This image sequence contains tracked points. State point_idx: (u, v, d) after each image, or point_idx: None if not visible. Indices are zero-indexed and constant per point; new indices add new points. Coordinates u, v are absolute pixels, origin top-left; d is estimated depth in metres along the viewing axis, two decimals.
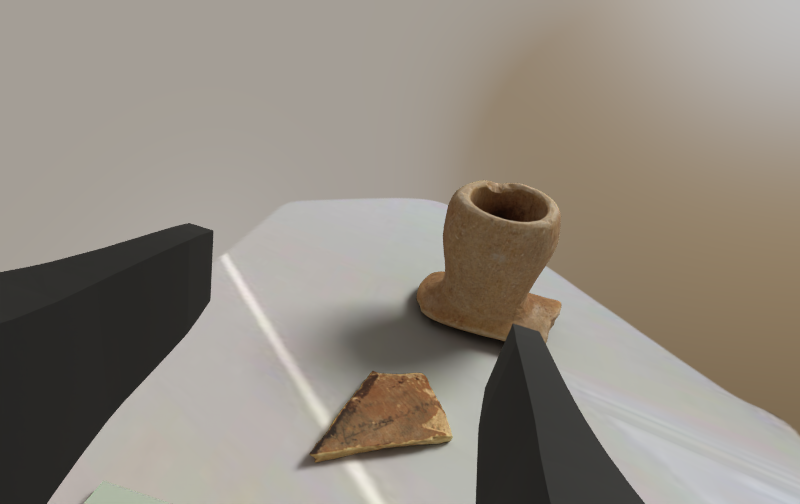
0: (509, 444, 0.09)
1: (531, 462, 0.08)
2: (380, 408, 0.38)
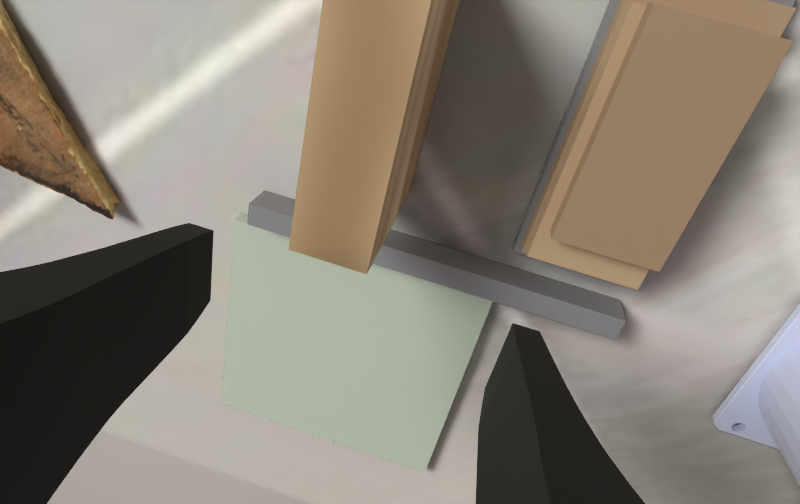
0: (508, 444, 0.09)
1: (531, 462, 0.08)
2: None
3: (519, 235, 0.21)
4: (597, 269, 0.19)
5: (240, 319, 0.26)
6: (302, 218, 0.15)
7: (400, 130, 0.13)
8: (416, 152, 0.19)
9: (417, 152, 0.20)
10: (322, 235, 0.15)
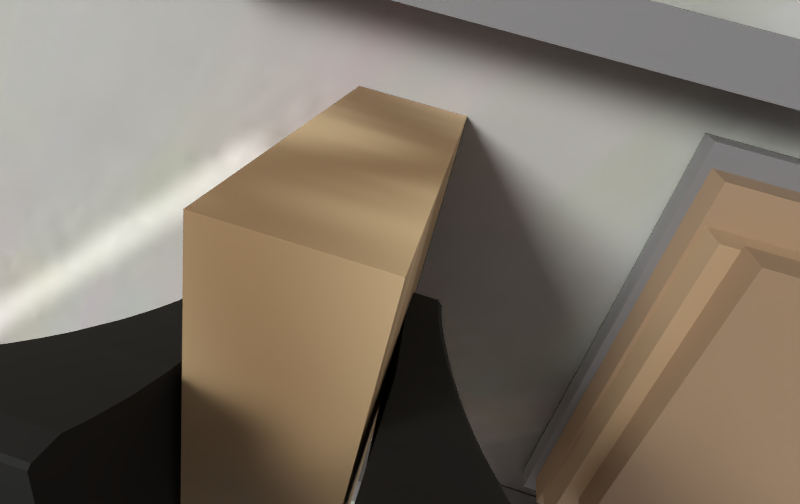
0: (385, 403, 0.09)
1: None
2: None
3: (532, 468, 0.15)
4: None
5: None
6: None
7: None
8: None
9: None
10: None
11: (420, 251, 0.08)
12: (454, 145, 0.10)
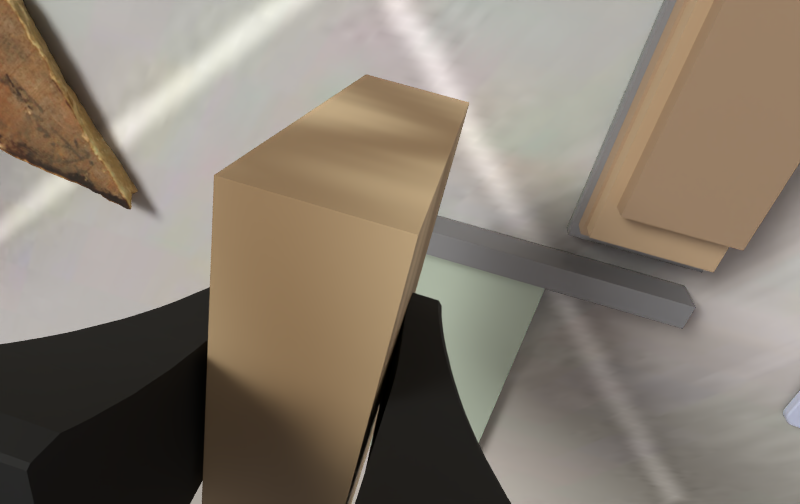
0: (385, 403, 0.09)
1: None
2: None
3: (576, 216, 0.19)
4: (668, 250, 0.17)
5: None
6: None
7: (352, 475, 0.08)
8: None
9: None
10: None
11: (428, 222, 0.08)
12: (458, 127, 0.10)
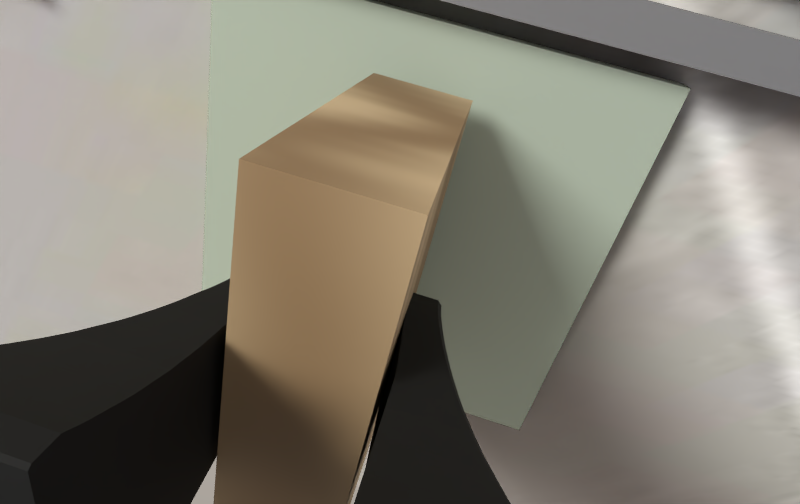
0: (384, 404, 0.09)
1: None
2: None
3: None
4: None
5: (227, 171, 0.16)
6: None
7: (361, 449, 0.09)
8: None
9: None
10: None
11: (435, 210, 0.09)
12: (463, 122, 0.11)
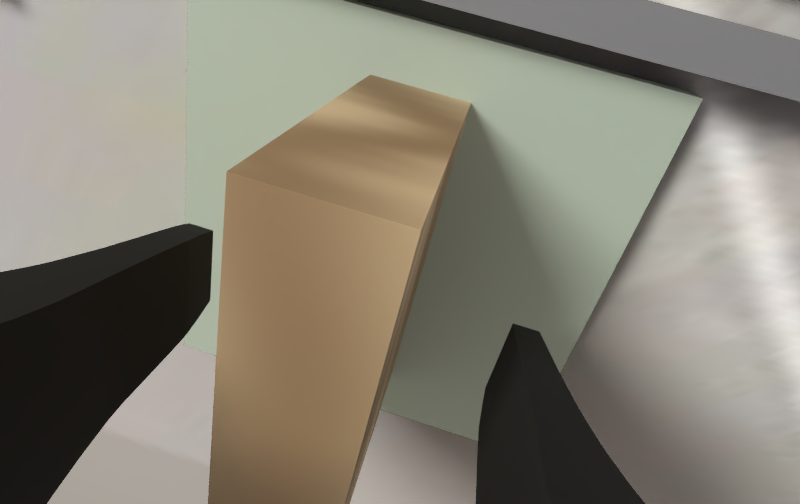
0: (508, 444, 0.09)
1: (531, 462, 0.08)
2: None
3: None
4: None
5: (208, 184, 0.15)
6: None
7: (355, 462, 0.09)
8: (395, 356, 0.14)
9: (397, 352, 0.15)
10: None
11: (430, 219, 0.08)
12: (460, 126, 0.10)
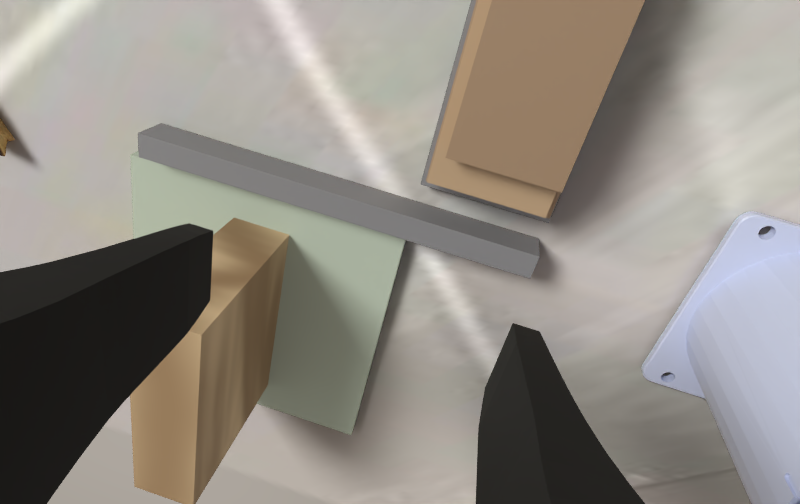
0: (508, 444, 0.09)
1: (531, 462, 0.08)
2: None
3: (426, 165, 0.19)
4: (501, 195, 0.18)
5: None
6: (140, 470, 0.20)
7: (197, 430, 0.18)
8: (258, 374, 0.24)
9: (261, 371, 0.24)
10: (156, 481, 0.20)
11: (233, 316, 0.18)
12: (266, 259, 0.20)
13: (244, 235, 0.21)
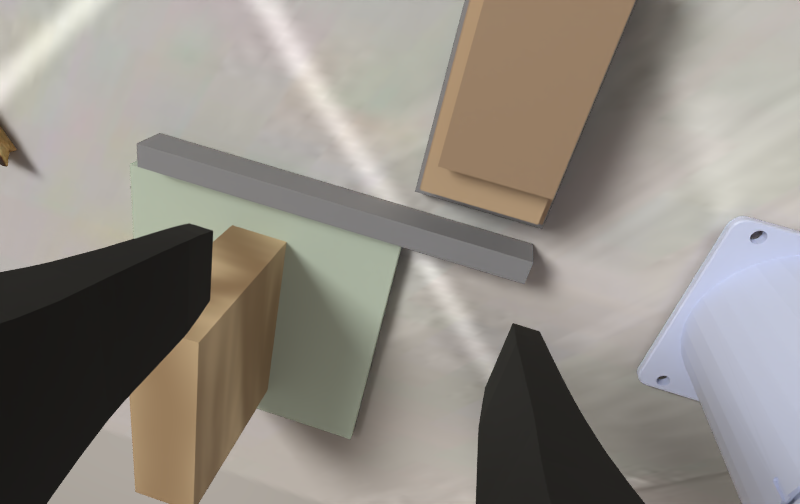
0: (509, 444, 0.09)
1: (531, 462, 0.08)
2: None
3: (420, 173, 0.20)
4: (494, 202, 0.18)
5: None
6: (141, 475, 0.20)
7: (196, 436, 0.18)
8: (258, 380, 0.24)
9: (260, 377, 0.25)
10: (157, 486, 0.20)
11: (230, 323, 0.18)
12: (263, 267, 0.20)
13: (242, 243, 0.21)
